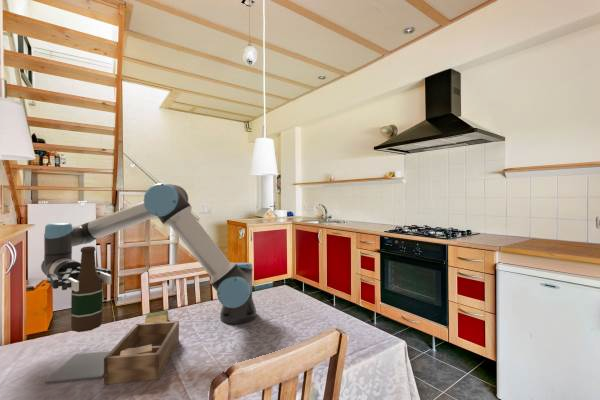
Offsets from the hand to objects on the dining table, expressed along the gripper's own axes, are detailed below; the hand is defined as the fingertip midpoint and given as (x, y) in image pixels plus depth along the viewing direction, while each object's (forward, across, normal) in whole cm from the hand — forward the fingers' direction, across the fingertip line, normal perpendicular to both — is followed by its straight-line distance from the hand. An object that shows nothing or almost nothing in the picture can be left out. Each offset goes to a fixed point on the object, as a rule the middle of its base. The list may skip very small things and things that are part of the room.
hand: (94, 283), depth 83 cm
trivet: (-5, 0, -26) cm, 26 cm away
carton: (-13, -26, -26) cm, 39 cm away
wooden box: (+6, -12, -26) cm, 29 cm away
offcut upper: (+10, -7, -23) cm, 26 cm away
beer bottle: (-5, 0, -14) cm, 15 cm away
